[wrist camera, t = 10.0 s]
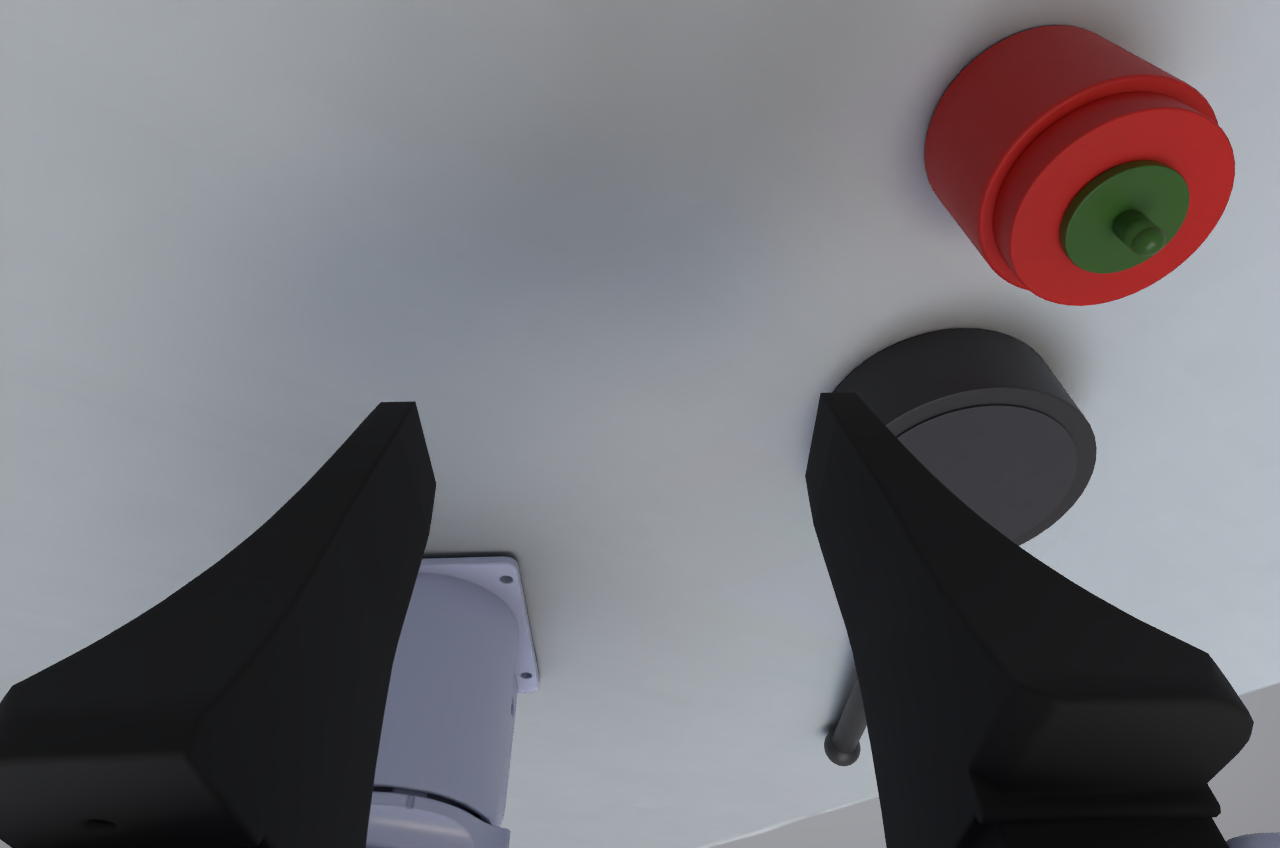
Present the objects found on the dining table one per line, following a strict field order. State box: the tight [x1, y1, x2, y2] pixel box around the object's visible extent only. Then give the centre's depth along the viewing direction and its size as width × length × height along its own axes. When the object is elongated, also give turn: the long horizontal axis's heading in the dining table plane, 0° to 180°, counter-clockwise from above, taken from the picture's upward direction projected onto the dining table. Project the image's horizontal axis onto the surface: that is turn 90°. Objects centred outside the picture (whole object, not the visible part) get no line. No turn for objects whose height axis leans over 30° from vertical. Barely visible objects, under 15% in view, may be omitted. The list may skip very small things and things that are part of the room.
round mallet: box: [824, 329, 1096, 766], centre depth 31 cm, size 26×8×3 cm, turn 1°
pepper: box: [925, 25, 1235, 306], centre depth 17 cm, size 5×5×6 cm
